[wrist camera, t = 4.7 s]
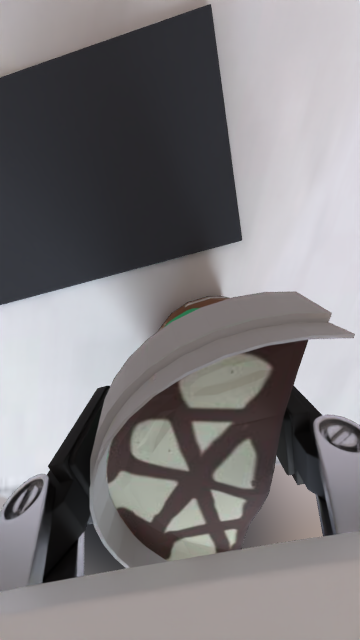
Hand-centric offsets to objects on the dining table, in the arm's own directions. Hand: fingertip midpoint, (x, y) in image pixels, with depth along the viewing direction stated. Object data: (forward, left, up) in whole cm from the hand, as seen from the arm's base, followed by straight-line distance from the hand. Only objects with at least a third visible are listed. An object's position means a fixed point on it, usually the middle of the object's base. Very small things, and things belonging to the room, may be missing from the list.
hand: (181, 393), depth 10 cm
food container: (0, 0, -5) cm, 5 cm away
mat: (-4, +12, -5) cm, 14 cm away
